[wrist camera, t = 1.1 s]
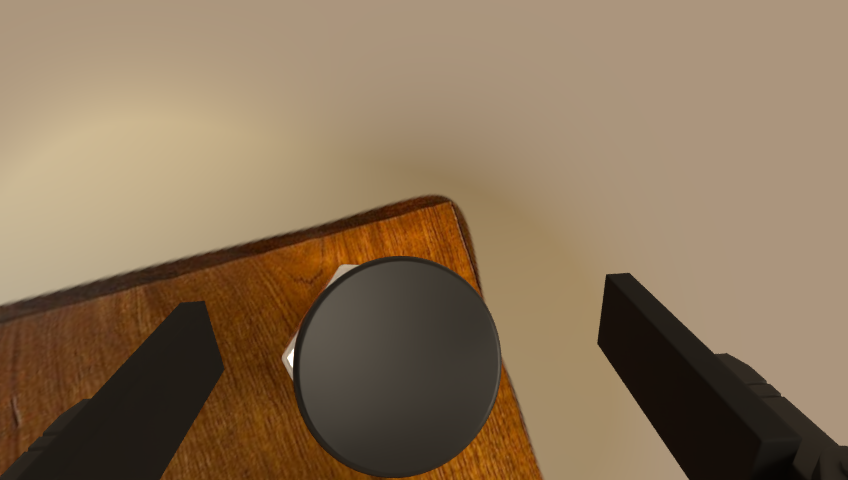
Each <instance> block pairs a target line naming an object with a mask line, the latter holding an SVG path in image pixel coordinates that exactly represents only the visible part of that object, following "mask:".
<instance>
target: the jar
mask: <svg viewBox="0 0 848 480" xmlns="http://www.w3.org/2000/svg"><path fill="white" fill-rule="evenodd" d="M282 361H283V363H284V365H285V367H286V369H287V371H288V373H289V375H290V377H291V378H292V380H293V385H294V392H295V397H296V401H297V405H298V408H299V411H300V413H301V416H302V418H303V420H304V422H305V424H306V426H307V428H308V430H309V431H310V433H311V434H312V436H313V437H314V438H315V440H316V441H317V442H318V443H319V444H320V446H321V447H322V448H323V449H324V450H325V451H326V452H327V453H329V454H330V455H331V456H332V457H333V458H335V459H336V460H337V461H339V462H340V463H342V464H344V465H345V466H347V467H349V468H351V469H353V470H356V471H358V472H361V473H364V474H367V475H371V476H376V477H384V478H403V477H411V476H415V475H419V474H423V473H426V472H428V471H431V470H433V469H436V468H438V467H440V466H442V465H443V464H445V463H447V462H448V461H450V460H451V459H453V458H454V457H455V456H457V455H458V454H459V453H460V452H462V451H463V450H464V449H465V448H466V447H467V446H468V445H469V444H470V443H471V442H472V441H473V440H474V438H475V437H476V436H477V434H478V433H479V432H480V430H481V429H482V427H483V426H484V424H485V422H486V421H487V419H488V417H489V415H490V413H491V410H492V408H493V406H494V403H495V400H496V397H497V393H498V389H499V385H500V378H501V365H502V361H501V348H500V341H499V336H498V333H497V329H496V326H495V323H494V320H493V318H492V316H491V313H490V311H489V310H488V308H487V306H486V304H485V303H484V301H483V300H482V298H481V297H480V295H479V294H478V293H477V292H476V290H475V289H474V288H473V287H472V286H471V285H470V284H469V283H468V282H467V281H466V280H464V279H463V278H462V277H461V276H459V275H458V274H457V273H455V272H454V271H452V270H450V269H449V268H447V267H445V266H443V265H441V264H438V263H436V262H433V261H430V260H427V259H423V258H418V257H410V256H392V257H384V258H379V259H375V260H372V261H369V262H366V263H363V264H361V265H348V264H344V265H341V266H340V267H339V268H338V269H337V270H336V271H335V272H334V273H333V274H332V276H331V277H330V278H329V279H328V280H327V281H326V282H325V284H324V285H323V287H322V288H321V290H320V291H319V293H318V294H317V296H316V298H315V299H314V301H313V302H312V304H311V305H310V307H309V308H308V310H307V312H306V313H305V315H304V316H303V318H302V319H301V321H300V322H299V324H298V325H297V327H296V329H295V330H294V332H293V333H292V335H291V336H290V338H289V339H288V341H287V343H286V346H285V349H284V352H283V355H282Z"/></svg>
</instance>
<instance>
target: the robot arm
mask: <svg viewBox="0 0 848 480" xmlns="http://www.w3.org/2000/svg"><path fill="white" fill-rule="evenodd" d="M597 343H598V345H599V347H600V348H601V350H602V351H603V353H604V354H605V356H606V357H607V359H608V360H609V362H610V363H611V365H612V366H613V367H614V369H615V371H616V372H617V374H618V375H619V376H620V378H621V379H622V381H623V382H624V384H625V385H626V387H627V388H628V390H629V391H630V393H631V394H632V396H633V397H634V399H635V400H636V401H637V403H638V405H639V406H640V408H641V409H642V411H643V412H644V414H645V415H646V416H647V418H648V419H649V421H650V422H651V424H652V425H653V427H654V428H655V430H656V431H657V433H658V434H659V436H660V437H661V439H662V440H663V442H664V443H665V445H666V446H667V448H668V449H669V451H670V452H671V454H672V455H673V456H674V458H675V459H676V461H677V462H678V464H679V465H680V467H681V468H682V470H683V471H684V472H685V474H686V476H687V477H688V478H689V480H848V446H839V445H838V444H837V443H835V442H834V441H833V440H832V439H831V438H830V437H829V436H828V435H826V433H824V432H823V431H822V430H821V429H820V428H819V427H817V426H816V425H815V424H814V423H813V422H812V421H811V420H810V419H809V418H808V417H806V416H805V415H804V414H803V413H802V412H801V411H800V410H799V409H797V408H796V407H795V406H794V405H793V404H792V403H791V402H790V401H788V400H787V399H786V398H785V397H781V394H780V393H779V392H778V391H777V390H776V389H775V388H774V387H773V386H772V385H770V384H767V382H766V380H765V379H764V378H763V377H761V376H760V375H759V374H758V373H757V372H756V371H755V370H754V369H752V368H751V367H750V366H749V365H747V364H745V363H744V362H742V361H740V360H738V359H736V358H735V357H733V356H731V355H729V354H727V353H725V354H714V353H713V352H712V351H711V350H709V349H708V347H706V346H705V345H704V344H703V343H702V342H701V341H700V340H699V339H698V338H697V337H696V336H695V335H694V334H693V333H692V332H691V331H690V330H688V328H687V327H686V326H684V325H683V324H682V323H681V322H680V321H679V320H678V319H677V318H676V317H675V316H674V315H673V314H672V313H671V312H670V311H669V310H668V309H667V308H666V307H665V306H663V305H662V304H661V303H660V302H659V301H658V300H657V299H656V298H655V297H654V296H653V295H652V294H651V293H650V292H649V291H648V290H647V289H646V288H645V287H644V286H643V285H641V284H640V283H639V282H638V281H637V280H636V279H635V278H634V277H633V276H632V275H631V274H630V273H621V274H607V275H606V280H605V288H604V296H603V303H602V311H601V319H600V326H599V334H598V342H597ZM223 371H224V365H223V362H222V359H221V355H220V352H219V349H218V345H217V342H216V338H215V335H214V332H213V328H212V325H211V322H210V318H209V315H208V311H207V308H206V305H205V301H197V302H182V303H180V304H179V305H178V306H177V307H176V308H175V309H174V310H173V311H172V312H171V313H170V315H169V316H168V317H167V318H166V319H165V320H164V321H163V322H162V323H161V324H160V325H159V326H158V327H157V329H156V330H155V331H154V332H153V333H152V334H151V335H150V336H149V337H148V338H147V339H146V340H145V341H144V342H143V344H142V345H141V346H140V347H139V348H138V349H137V350H136V351H135V352H134V353H133V354H132V355H131V356H130V357H129V359H128V360H127V361H126V362H125V363H124V364H123V365H122V366H121V367H120V368H119V369H118V370H117V371H116V373H115V374H114V375H113V376H112V377H111V378H110V379H109V380H108V381H107V382H106V383H105V384H104V385H103V386H102V388H101V389H100V390H99V391H98V392H97V393H96V394H95V395H94V396H93V397H92V398H91V399H83V400H82V401H80V402H79V403H77V404H76V405H74V406H73V407H71V408H70V409H69V410H67V411H66V412H64V413H63V414H61V415H60V416H59V417H58V418H57V419H56V420H55V421H54V422H53V423H52V424H51V425H50V426H49V427H48V428H47V429H46V430H45V431H44V432H43V436H42V437H39V438H38V439H37V440H36V441H35V442H34V443H33V444H32V445H31V446H30V447H29V448H28V451H27V452H24V453H23V454H22V455H21V456H20V457H19V458H18V459H17V460H16V461H15V462H14V463H13V464H12V465H11V466H10V467H9V468H8V469H7V470H6V471H5V472H4V473H3V474H2V475H1V477H0V480H160V478H161V476H162V475H163V473H164V471H165V470H166V468H167V466H168V464H169V463H170V461H171V459H172V458H173V456H174V454H175V453H176V451H177V449H178V447H179V446H180V444H181V442H182V441H183V439H184V437H185V436H186V434H187V432H188V430H189V429H190V427H191V425H192V424H193V422H194V420H195V419H196V417H197V415H198V413H199V412H200V410H201V408H202V407H203V405H204V403H205V402H206V400H207V398H208V397H209V395H210V393H211V391H212V390H213V388H214V386H215V385H216V383H217V381H218V380H219V378H220V376H221V374H222V373H223Z"/></svg>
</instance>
